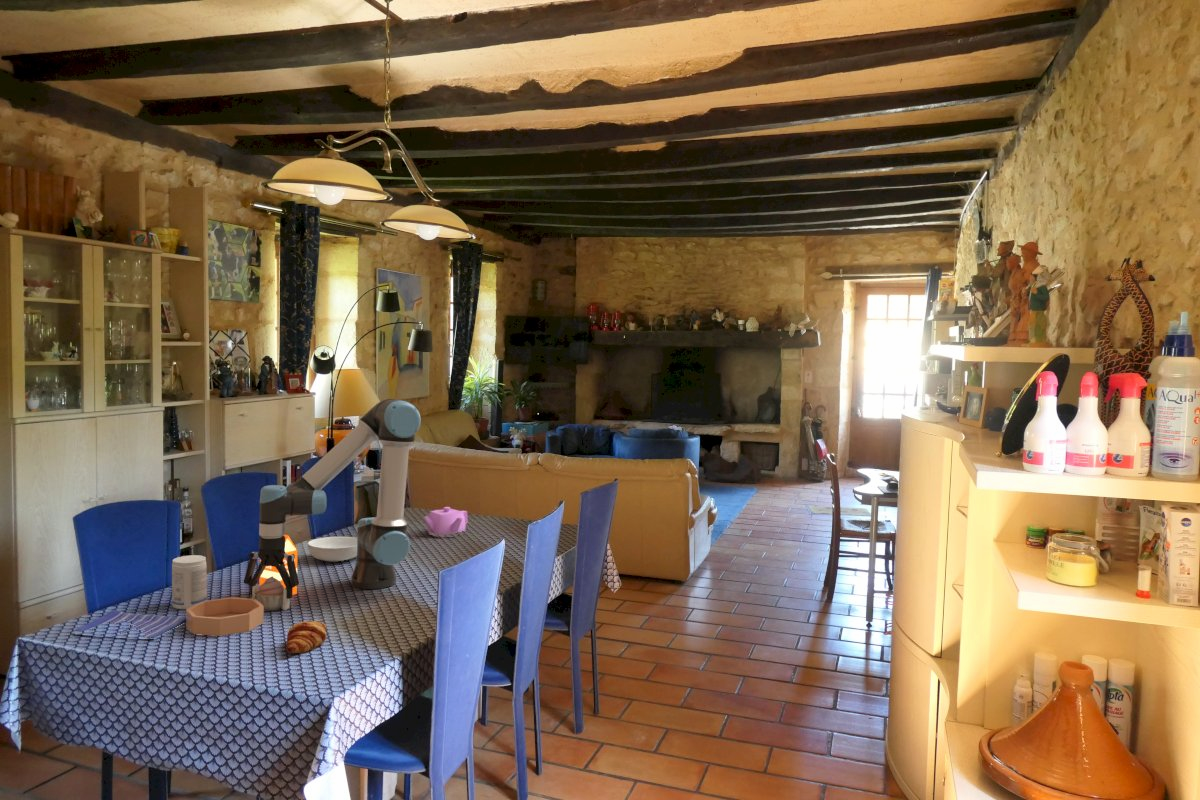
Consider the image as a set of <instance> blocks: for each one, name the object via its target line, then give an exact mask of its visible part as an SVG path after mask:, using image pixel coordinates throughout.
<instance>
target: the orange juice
mask: <svg viewBox="0 0 1200 800" xmlns="http://www.w3.org/2000/svg"><path fill="white" fill-rule="evenodd" d="M284 536H285V553H286V554H290V555H291V554H294V555H295V560H294V562H295V567H296V571H297V572H298V549H297V548H296V546H295V544H294V543H293V541H292V539H291V538H290V535H287V534H284ZM283 561H284V564H285V568H286V570H287V572H288V574H289V571H288V567H287V561H286V559H285V558H284V559H283ZM260 562H261V559H260V558H259V563H260ZM279 565H280V564H279ZM272 576H273V578H275V579H277V580H279V581H280V582H281V584H282V585H283V586H284V588H286V586H285V584H284V582H283V580H282V578H281V576H280V574H279V572H278V570H277V569H276V567H272V566H266V567H265V569H264V571H263V573H262V575H261V576H260V578H259V586H260V585H262V584H263V583H264V582H265V580H266V579H268V578H270V577H272ZM297 586H298V585H297ZM297 586H295V587H293V595H292V596H294V595H297V594H298V587H297Z"/></svg>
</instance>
